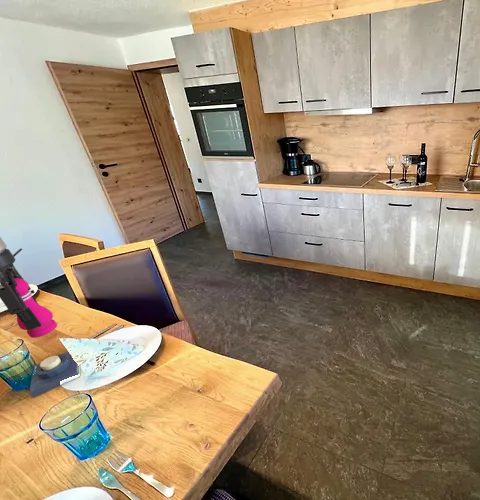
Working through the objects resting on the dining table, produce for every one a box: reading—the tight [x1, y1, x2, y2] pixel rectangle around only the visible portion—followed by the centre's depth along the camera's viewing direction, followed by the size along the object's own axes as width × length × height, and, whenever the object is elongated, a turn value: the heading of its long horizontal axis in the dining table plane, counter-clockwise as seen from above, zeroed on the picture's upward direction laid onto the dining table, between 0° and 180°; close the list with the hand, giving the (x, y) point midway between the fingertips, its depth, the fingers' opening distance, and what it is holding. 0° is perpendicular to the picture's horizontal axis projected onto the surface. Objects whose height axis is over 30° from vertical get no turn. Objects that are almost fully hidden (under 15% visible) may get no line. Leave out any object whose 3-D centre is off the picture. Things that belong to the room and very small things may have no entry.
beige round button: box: [39, 355, 61, 371], centre depth 83 cm, size 4×4×2 cm
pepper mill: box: [9, 278, 58, 339], centre depth 83 cm, size 7×7×20 cm
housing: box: [28, 351, 79, 398], centre depth 85 cm, size 12×10×4 cm
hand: (36, 320), depth 86 cm, fingers closed on pepper mill, 7 cm apart
